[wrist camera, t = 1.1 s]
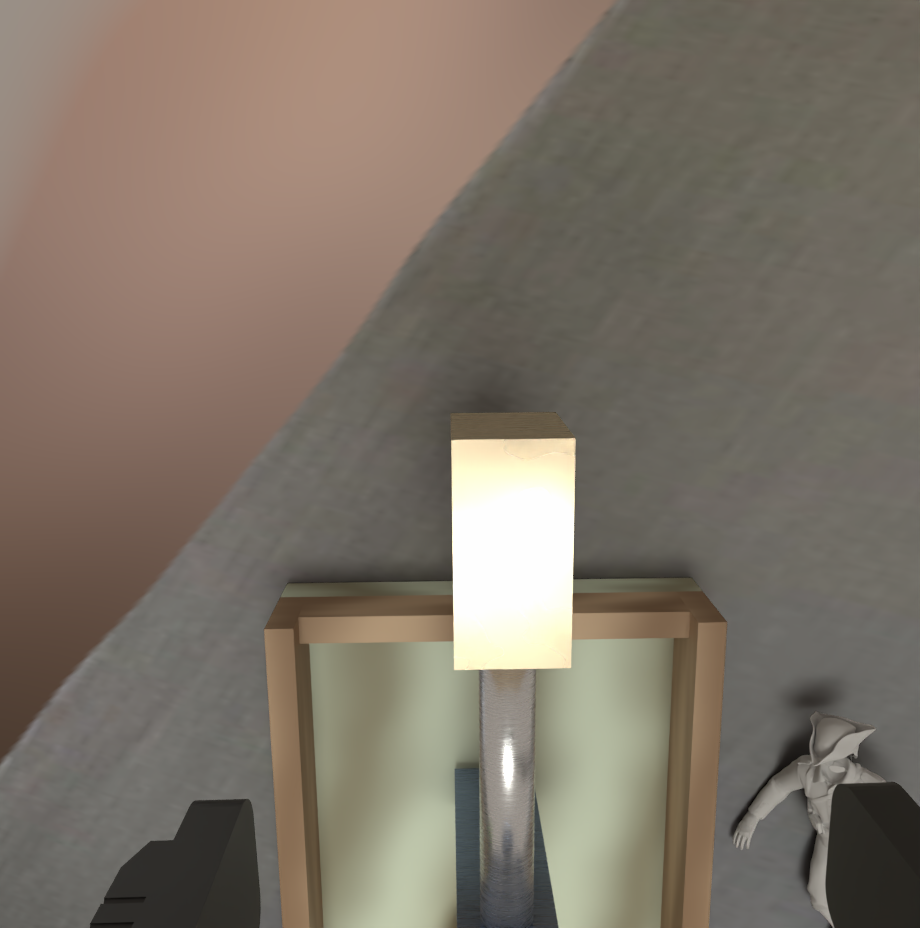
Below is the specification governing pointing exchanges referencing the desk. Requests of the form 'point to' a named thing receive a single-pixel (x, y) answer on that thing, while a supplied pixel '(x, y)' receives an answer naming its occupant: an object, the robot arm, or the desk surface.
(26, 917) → the desk surface
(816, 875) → the soldier figure
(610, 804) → the pitch
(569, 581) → the foosball rod
